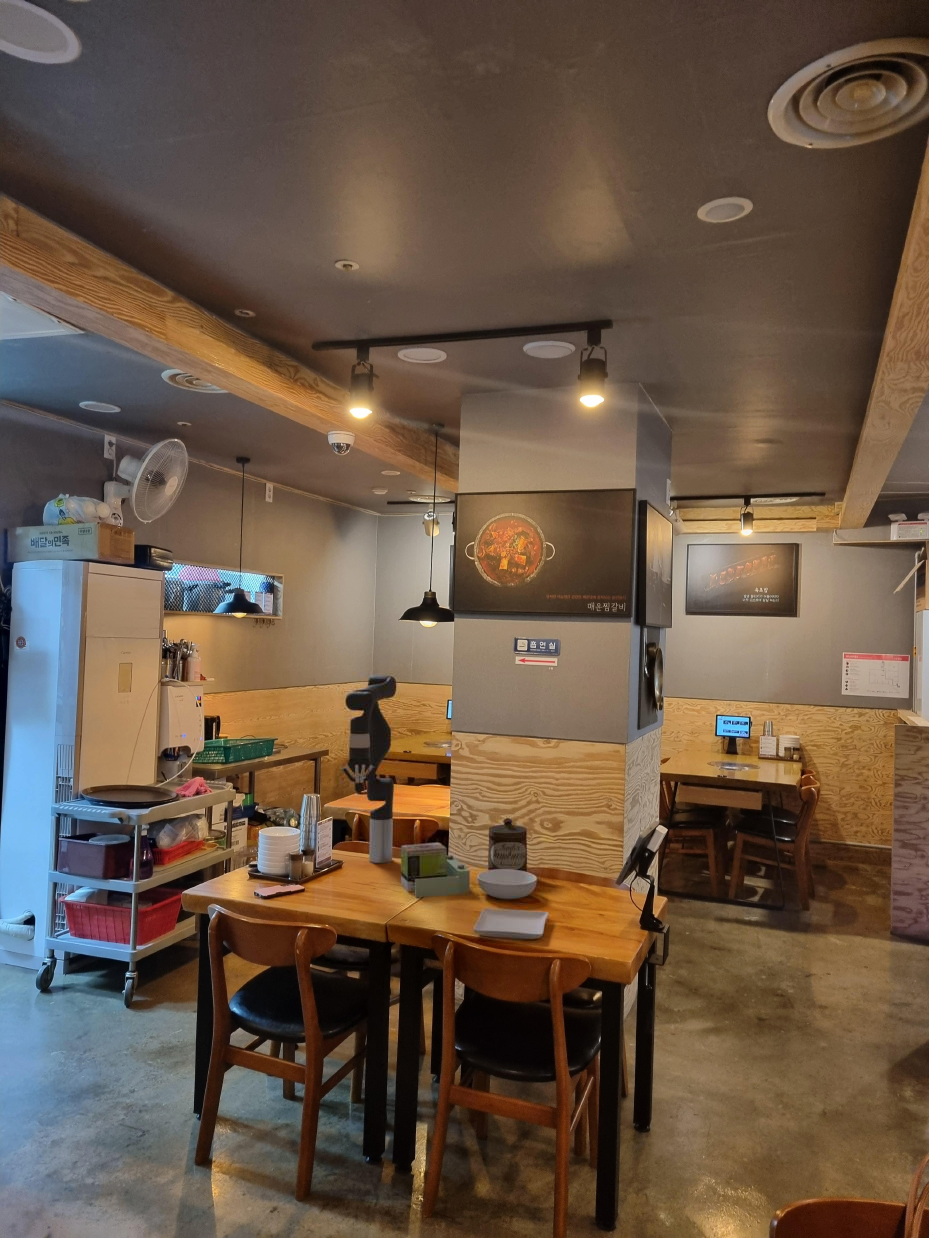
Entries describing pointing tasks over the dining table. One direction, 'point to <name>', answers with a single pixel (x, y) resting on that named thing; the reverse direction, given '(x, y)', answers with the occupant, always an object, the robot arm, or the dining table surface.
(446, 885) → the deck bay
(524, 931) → the salad plate
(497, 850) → the wooden container
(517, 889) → the serving bowl
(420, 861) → the tea box
